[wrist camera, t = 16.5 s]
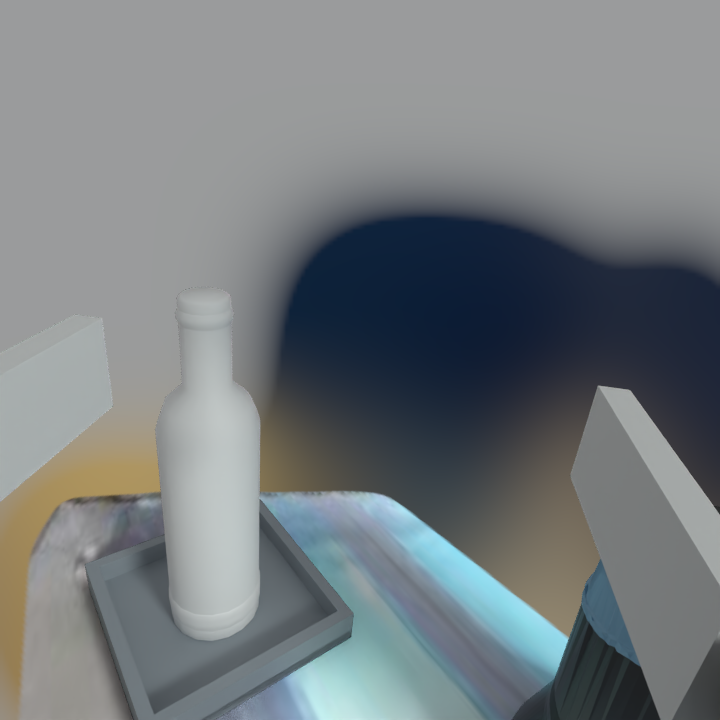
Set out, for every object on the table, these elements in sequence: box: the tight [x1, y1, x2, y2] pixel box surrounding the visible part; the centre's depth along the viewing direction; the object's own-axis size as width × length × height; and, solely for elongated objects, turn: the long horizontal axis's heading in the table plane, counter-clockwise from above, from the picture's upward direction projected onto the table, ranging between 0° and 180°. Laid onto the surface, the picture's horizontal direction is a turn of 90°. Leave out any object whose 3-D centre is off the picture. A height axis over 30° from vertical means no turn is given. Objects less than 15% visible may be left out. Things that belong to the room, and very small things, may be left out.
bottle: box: [155, 287, 260, 641], centre depth 42 cm, size 8×8×30 cm
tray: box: [85, 499, 354, 720], centre depth 48 cm, size 18×18×3 cm
